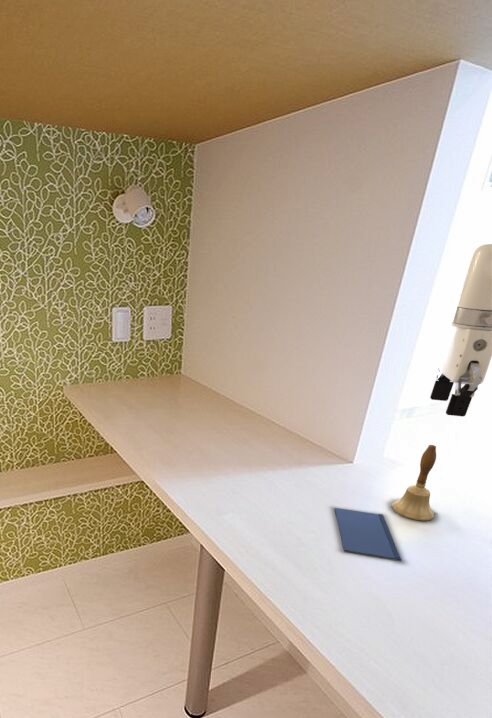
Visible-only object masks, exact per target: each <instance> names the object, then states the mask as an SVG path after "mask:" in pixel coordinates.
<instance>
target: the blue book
mask: <svg viewBox="0 0 492 718" xmlns="http://www.w3.org/2000/svg"><path fill="white" fill-rule="evenodd" d="M334 512H335V516H336V521H337V525H338V530H339V534H340V539H341V543H342V547H343V551H344V552H347V553H353V554H360V555H366V556H372V557H377V558H384V559H389V560H395V561H401V562H402V558H401V555H400V553H399V551H398V548H397V546H396V542H395V540H394V538H393V536H392V533H391V531H390V528H389V526H388V523H387V520H386V518H385V516H384V514H383V513H374V512H373V513H372V512H367V511H366V512H365V511H359V510H353V509H346V508H338V507H334Z"/></svg>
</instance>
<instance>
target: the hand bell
mask: <svg viewBox="0 0 492 718" xmlns="http://www.w3.org/2000/svg"><path fill="white" fill-rule="evenodd" d="M436 460H437V446H436V445H435V444H429V445H428V446H427V448H426V449H425V450H424V452H423V453H422V455H421V457H420V462H419V469H420V470H419V474H418V477H417V480H416V483H415V484H414V485H409V486H408V487H406V490H405V492H404V493H403V496H402V497H400V498H399V499H396V500H394V501H393V502H392V504H391V508H392V509H393V511H394V512H395V513H397V514H399V515H400V516H402V517H404V518H407V519H410V520H415V521H425V522H426V521H431V520H432V519H434V517H435V512H434V510H433V509H432V507H431V505H430V504H431V503H430V498H431V491H430V490H429V489H427V488H426V484H427V480H428V475H429V473H430V471H431V470H432V469H433V467H434V465H435V463H436Z"/></svg>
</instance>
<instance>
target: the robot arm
mask: <svg viewBox="0 0 492 718" xmlns="http://www.w3.org/2000/svg"><path fill="white" fill-rule="evenodd" d="M450 326H452V329H451V332H450V334H449V337H448V339H447V342H446V344H445V347H444V349H443V353H442V356H441V358H440V362H439V367H438V373H437V374H436V376H435V381H434V384H433V387H432V390H431V393H430V396H429V398H430V400H433V401H441V402H447V401H449V402H448V404H447V407H446V410H445V414H446V415H447V416H454V417H465V416H466V415H467V412H468V409H469V408H470V405H471V401H472V399H473V397H475V393H476V391H477V390H478V389H479V387H478V386H479V385H481V384H483V382H484V380H485V378H486V375H487V373H488V370H489V369H488V368H489V366H490V363H491V359H492V243H488V244H486V243H485V244H482V245H480V246H478V247H477V248H476V249H475V250H474V252H473V254H472V257H471V260H470V263H469V266H468V269H467V273H466V275H465V279H464V281H463V285H462V287H461V291H460V294H459V298H458V301H457V303H456V306H455V310H454V312H453V316H452V318H451V322H450ZM454 384H455V385H454ZM462 385H463V386H462ZM453 386H454V393H452V394H451V392H452V389H453ZM450 395H451V397H450ZM449 398H450V399H449Z"/></svg>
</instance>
